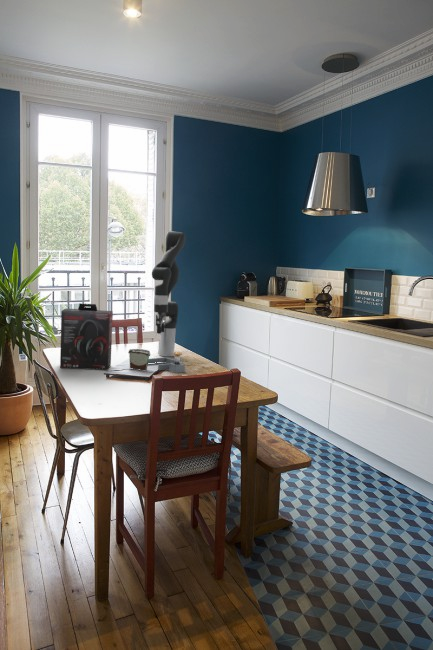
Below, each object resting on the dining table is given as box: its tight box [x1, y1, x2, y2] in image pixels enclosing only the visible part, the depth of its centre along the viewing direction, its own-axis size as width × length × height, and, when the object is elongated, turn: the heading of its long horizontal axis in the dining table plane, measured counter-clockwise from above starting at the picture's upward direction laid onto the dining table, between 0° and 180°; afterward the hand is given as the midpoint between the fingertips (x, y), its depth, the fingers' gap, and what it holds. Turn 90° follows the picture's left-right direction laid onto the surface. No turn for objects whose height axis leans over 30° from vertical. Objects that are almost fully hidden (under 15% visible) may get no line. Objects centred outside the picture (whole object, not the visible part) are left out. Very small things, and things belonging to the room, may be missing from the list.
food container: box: [127, 348, 151, 371], centre depth 267 cm, size 12×6×10 cm, turn 71°
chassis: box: [148, 356, 186, 374], centre depth 275 cm, size 24×16×4 cm
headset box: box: [59, 303, 114, 371], centre depth 260 cm, size 25×12×33 cm, turn 95°
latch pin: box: [173, 351, 183, 364], centre depth 268 cm, size 4×4×6 cm
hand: (160, 332), depth 281 cm, fingers open, 8 cm apart
